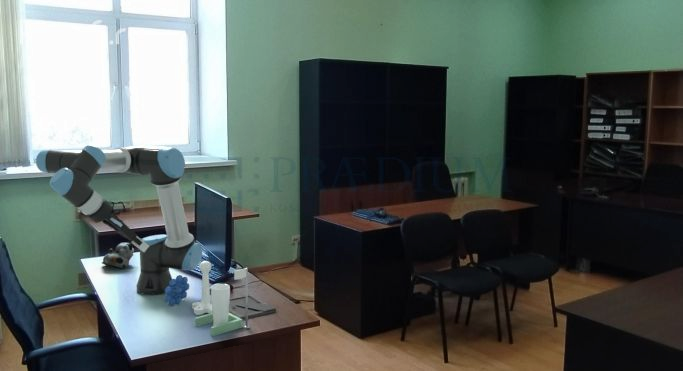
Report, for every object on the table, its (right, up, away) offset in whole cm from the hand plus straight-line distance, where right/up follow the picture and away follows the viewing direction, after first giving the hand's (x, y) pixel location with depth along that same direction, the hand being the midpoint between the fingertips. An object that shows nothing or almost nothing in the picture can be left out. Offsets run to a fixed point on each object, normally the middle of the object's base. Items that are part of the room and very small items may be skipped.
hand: (145, 248), depth 200 cm
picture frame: (+29, -27, +30) cm, 50 cm away
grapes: (+1, -26, +31) cm, 40 cm away
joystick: (+14, -27, +24) cm, 39 cm away
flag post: (+32, -30, +9) cm, 44 cm away
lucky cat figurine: (-40, -17, +79) cm, 90 cm away
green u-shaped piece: (+23, -29, +10) cm, 39 cm away
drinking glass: (+24, -30, +10) cm, 39 cm away
